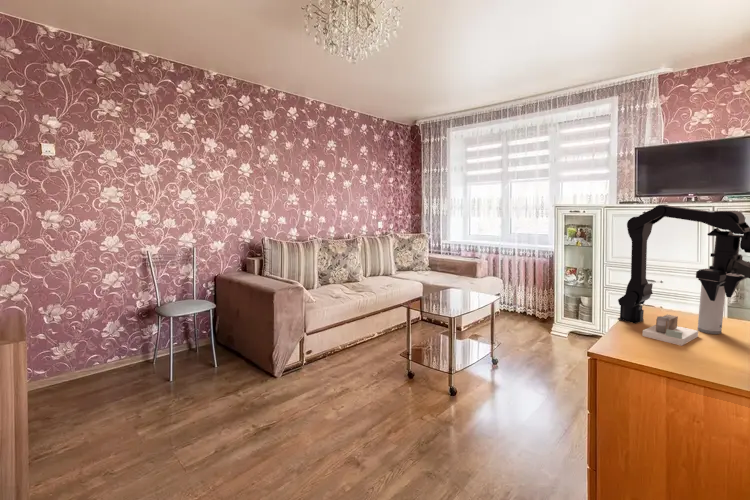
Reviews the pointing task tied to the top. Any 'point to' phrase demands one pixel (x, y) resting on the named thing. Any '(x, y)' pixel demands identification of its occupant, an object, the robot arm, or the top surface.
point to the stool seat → (672, 335)
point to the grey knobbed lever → (666, 323)
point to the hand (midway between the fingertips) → (720, 298)
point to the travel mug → (711, 312)
